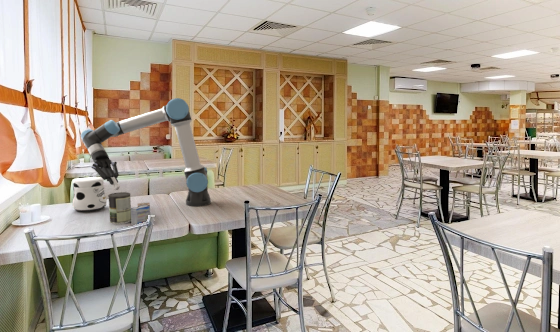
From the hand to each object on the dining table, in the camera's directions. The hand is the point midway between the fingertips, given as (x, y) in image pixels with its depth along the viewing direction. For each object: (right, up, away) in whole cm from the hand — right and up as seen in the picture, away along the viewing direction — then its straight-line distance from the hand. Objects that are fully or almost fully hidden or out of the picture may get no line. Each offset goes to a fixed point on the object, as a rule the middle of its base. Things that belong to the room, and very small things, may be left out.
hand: (117, 188), depth 175 cm
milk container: (-28, -14, +25) cm, 40 cm away
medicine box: (+13, -18, -3) cm, 22 cm away
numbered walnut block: (+10, -16, +10) cm, 21 cm away
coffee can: (+1, -17, +2) cm, 17 cm away
